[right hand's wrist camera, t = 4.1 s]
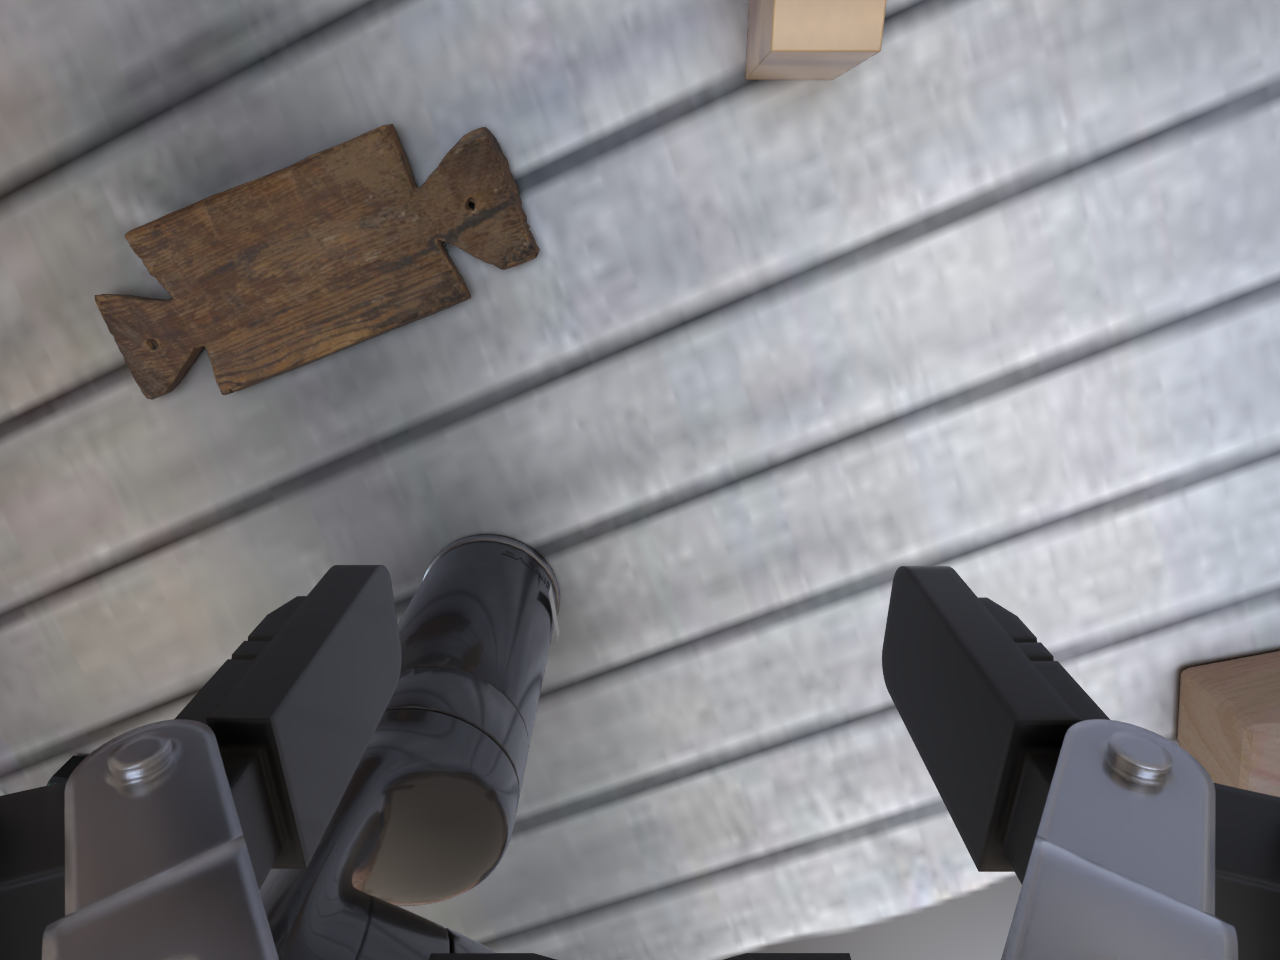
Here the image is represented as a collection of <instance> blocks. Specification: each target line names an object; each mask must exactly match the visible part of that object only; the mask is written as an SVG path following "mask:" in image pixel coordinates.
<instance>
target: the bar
mask: <svg viewBox="0 0 1280 960" xmlns="http://www.w3.org/2000/svg"><path fill="white" fill-rule="evenodd" d="M885 8H886V0H749V14H748V35H747V55H746V75H745V78H746V79H747V80H833V79H835V78H837V77H838V76H840V75H842V74H843V73H845V72H847V71H848V70H850V69H852V68H853V67H855V66H857V65H858V64H860V63H862V62H863V61H865V60H867V59H868V58H870V57H872V56H873V55H875V54H877V53H878V52H880V51H881V44H882V35H883V26H884V17H885Z"/></svg>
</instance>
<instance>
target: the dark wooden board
mask: <svg viewBox="0 0 1280 960" xmlns="http://www.w3.org/2000/svg"><path fill="white" fill-rule="evenodd" d="M518 194H519V190H518V187H517V184H516V183H515V181H514V179H513V177H512V174H511V172H510V169H509V165H508V161H507V159H506V157H505V156H504V154H503V152H502V150H501V148H500V146H499V144H498V142H497V140H496V138H495V137H494V135H493V134H492V133H491V132H490V131H489V130H488V129H487V128H486V127H483V128H479V129H476V130H473V131H471V132H470V133H468V134H466V135H465V136H463V137H462V138H461V139H460V140H459V142H458V143H457V144H456V145H455V146H454V147H453V148H452V149H451V150H450V151H449V152H448V153H447V154H446V156H445V157H444V158H443V160H442V161H441V163H440V164H439V166H438V167H437V168H436V169H435V171H434V172H433V173H432V174H431V175H430V176H429V177H428V179H427V180H426V182H425V183H424V184H423V186H422V187H419V188H417V186H416V183H415V180H414V178H413V175H412V171H411V168H410V165H409V162H408V160H407V157H406V155H405V152H404V150H403V148H402V145H401V143H400V140H399V137H398V134H397V132H396V130H395V127H394V125H393V124H390V125H383V126H381V127H378V128H376V129H374V130H371V131H369V132H367V133H365V134H363V135H360V136H358V137H356V138H353V139H351V140H349V141H347V142H344V143H342V144H339V145H337V146H334V147H332V148H329V149H326V150H324V151H321V152H319V153H316V154H314V155H311V156H309V157H307V158H305V159H303V160H301V161H299V162H297V163H295V164H293V165H291V166H289V167H286V168H284V169H281V170H278V171H276V172H273V173H271V174H268V175H266V176H264V177H261V178H259V179H256V180H253V181H250V182H248V183H245V184H242V185H240V186H237V187H234V188H232V189H229V190H227V191H224V192H222V193H218V194H215V195H213V196H210V197H208V198H206V199H204V200H201V201H199V202H196V203H194V204H192V205H190V206H187V207H185V208H183V209H180V210H177V211H175V212H172V213H170V214H167V215H165V216H163V217H161V218H159V219H157V220H154V221H152V222H150V223H147V224H145V225H143V226H140V227H138V228H135V229H133V230H131V231H129V232H127V233H126V234H125V238H126V240H127V241H128V242H129V243H130V246H131V248H132V249H133V251H134V252H135V253H136V254H137V256H138V257H139V258H141V259H142V260H143V263H144V265H145V266H146V267H147V270H148V271H149V273H150V275H152V276H154V277H156V278H157V280H158V281H159V283H160V284H161V285H162V286H163V287H164V288H165V289H166V290H167V291H168V293H169V294H170V295H171V296H172V298H171V299H170V300H161V299H151V298H145V297H138V296H131V295H115V294H102V295H95V301H96V303H97V306H98V308H99V310H100V312H101V315H102V317H103V319H104V320H105V322H106V324H107V326H108V329H109V331H110V333H111V334H112V335H113V336H114V339H115V341H116V343H117V345H118V347H119V350H120V351H121V353H122V354H123V356H124V359H125V362H126V364H127V366H128V368H129V369H130V371H131V373H132V375H133V377H134V379H135V381H136V383H137V384H138V386H139V387H140V389H141V391H142V393H143V394H144V395H145V397H146V398H147V399H155V398H157V397H160V396H162V395H164V394H167V393H169V392H171V391H172V390H173V389H174V388H175V387H176V386H177V385H178V383H179V382H180V381H181V380H182V378H183V377H184V376H185V374H186V372H187V370H188V369H189V368H190V366H191V365H192V364H193V363H194V362H195V360H196V358H197V356H198V355H199V354H200V353H201V351H202V350H203V348H204V346H205V347H206V348H207V350H208V356H209V358H210V361H211V363H212V367H213V371H214V375H215V379H216V382H217V384H218V386H219V388H220V391H221V393H222V395H227V394H230V393H233V392H234V391H239V390H242V389H244V388H247V387H249V386H252V385H254V384H257V383H260V382H262V381H264V380H267V379H270V378H272V377H275V376H277V375H280V374H282V373H285V372H288V371H290V370H293V369H295V368H298V367H301V366H303V365H306V364H308V363H311V362H313V361H316V360H318V359H321V358H323V357H325V356H328V355H330V354H333V353H335V352H338V351H340V350H343V349H345V348H348V347H350V346H353V345H355V344H358V343H360V342H363V341H365V340H367V339H370V338H373V337H375V336H378V335H380V334H383V333H385V332H388V331H390V330H393V329H395V328H398V327H401V326H403V325H406V324H408V323H411V322H413V321H416V320H418V319H421V318H424V317H426V316H429V315H432V314H434V313H437V312H439V311H441V310H444V309H446V308H449V307H451V306H453V305H455V304H458V303H460V302H462V301H465V300H467V299H469V298H471V295H470V293H469V291H468V289H467V286H466V284H465V282H464V281H463V279H462V276H461V275H460V274H459V273H458V270H457V268H456V267H455V265H454V263H453V261H452V260H451V259H450V257H449V255H448V253H447V251H446V249H445V247H444V245H443V244H442V243H443V241H444V242H447V243H450V244H452V245H454V246H457V247H459V248H461V249H462V250H464V251H466V252H467V253H469V254H471V255H472V256H474V257H476V258H478V259H480V260H482V261H485V262H487V263H490V264H494V265H495V266H497V267H498V268H500V269H503V270H505V269H508V268H511V267H514V266H517V265H520V264H522V263H525V262H527V261H529V260H531V259H534V258H536V257H537V255H538V252H539V248H538V246H537V245H536V243H535V239H534V237H533V235H532V233H531V231H530V230H529V227H530V226H529V225H528V224H527V223H526V215H525V213H524V211H523V209H522V208H521V204H522V202H521V200H520V197H519V195H518ZM469 202H473V203H475V208H474V209H472V208H471V207H470V206H469Z"/></svg>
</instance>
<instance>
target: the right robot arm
mask: <svg viewBox="0 0 1280 960" xmlns="http://www.w3.org/2000/svg"><path fill="white" fill-rule="evenodd" d="M559 604H560V593H559V587H558V583H557V580H556V577H555V575H554V573H553V571H552V570H551V568H550V566H549V565H548V564H547V562H546V561H545V560H544V559H543V558H542V557H541V556H540V555H539V554H538V553H537V552H535V551H534V550H533V549H531V548H530V547H528V546H527V545H525V544H523V543H521V542H519V541H516V540H514V539H511V538H507V537H503V536H497V535H476V536H470V537H466V538H463V539H460V540H458V541H456V542H454V543H452V544H450V545H448V546H447V547H446V548H444V549H443V550H442V551H441V552H440V553H439V554H438V555H437V556H436V557H435V558H434V559H433V561H432V562H431V564H430V566H429V568H428V569H427V571H426V573H425V576H424V578H423V581H422V583H421V585H420V587H419V588H418V590H417V592H416V593H415V595H414V597H413V598H412V600H411V602H410V604H409V605H408V607H407V609H406V611H405V612H404V614H403V616H402V618H401V619H400V621H399V623H398V624H397V618H396V611H395V604H394V598H393V591H392V584H391V579H390V575H389V572H388V570H387V568H386V567H385V566H383V565H335V566H333V567H331V568H330V569H329V571H328V572H327V573H326V574H325V575H324V577H323V578H322V579H321V580H320V581H319V583H318V584H317V585H316V586H315V587H314V589H313V590H312V591H311V592H310V593H309V595H308V596H297V597H296V598H294V599H292V600H291V601H289V602H288V603H286V604H284V605H283V606H281V607H279V608H278V609H276V610H275V611H273V612H271V613H270V614H268V615H267V616H266V617H265V618H264V619H263V620H262V622H261V623H260V624H259V625H258V626H257V627H256V628H255V629H254V631H253V632H252V633H251V634H250V635H249V636H248V641H244V642H243V643H242V644H241V645H240V646H239V647H238V649H237V650H236V651H235V652H234V653H233V654H232V659H228V660H227V661H226V662H225V663H224V664H223V665H222V666H221V668H220V669H219V670H218V671H217V672H216V673H215V674H214V675H213V677H212V678H211V679H210V680H209V681H208V682H207V683H206V684H205V686H204V687H203V688H202V689H201V690H200V691H199V692H198V693H197V695H196V696H195V697H194V698H193V699H192V700H191V701H190V702H189V704H188V705H187V706H186V707H185V708H184V709H183V710H182V711H181V712H180V714H179V715H178V716H177V717H176V718H175V719H174V720H166V721H160V722H156V723H151V724H148V725H145V726H142V727H138V728H136V729H133V730H131V731H128V732H126V733H124V734H122V735H120V736H118V737H116V738H114V739H112V740H110V741H108V742H107V743H105V744H103V745H102V746H100V747H99V748H98V749H96V750H95V751H93V752H92V753H91V754H90V755H88V756H87V757H86V758H85V759H84V760H83V761H82V762H81V763H80V764H79V765H78V766H77V767H76V768H75V769H74V771H73V772H72V774H71V775H70V776H69V779H68V781H67V782H62V783H58V784H53V785H49V786H44V787H40V788H35V789H31V790H26V791H21V792H17V793H12V794H8V795H3V796H0V960H556V959H552V958H549V957H545V956H541V955H538V954H534V953H496V952H494V951H493V950H491V949H489V948H487V947H486V946H484V945H482V944H480V943H478V942H476V941H474V940H472V939H469V938H467V937H465V936H463V935H461V934H459V933H457V932H455V931H453V930H450V929H448V928H444V927H443V926H441V925H439V924H436V923H434V922H432V921H430V920H427V919H425V918H423V917H420V916H418V915H416V914H414V913H411V912H409V911H407V910H405V909H402V908H400V907H398V906H416V905H425V904H431V903H435V902H440V901H444V900H447V899H450V898H453V897H456V896H458V895H460V894H462V893H464V892H466V891H468V890H470V889H472V888H473V887H475V886H476V885H478V884H479V883H481V882H482V881H483V880H484V879H485V878H486V877H488V876H489V875H490V874H491V872H492V871H493V870H494V869H495V868H496V866H497V865H498V864H499V862H500V860H501V859H502V857H503V855H504V853H505V851H506V849H507V847H508V844H509V842H510V838H511V835H512V831H513V827H514V822H515V817H516V812H517V807H518V801H519V797H520V792H521V787H522V782H523V777H524V772H525V767H526V762H527V757H528V751H529V746H530V741H531V736H532V731H533V726H534V721H535V716H536V711H537V706H538V701H539V696H540V691H541V686H542V681H543V676H544V671H545V666H546V661H547V656H548V651H549V646H550V642H551V637H552V632H553V627H554V624H555V630H556V635H557V640H558V639H559V634H560V631H559V625H558V620H557V615H558V610H559ZM882 667H883V675H884V680H885V684H886V687H887V689H888V692H889V694H890V696H891V698H892V700H893V702H894V704H895V706H896V708H897V710H898V712H899V714H900V716H901V718H902V720H903V722H904V724H905V726H906V728H907V730H908V732H909V734H910V736H911V738H912V740H913V742H914V744H915V746H916V748H917V750H918V752H919V754H920V756H921V758H922V760H923V762H924V764H925V766H926V768H927V770H928V772H929V774H930V776H931V778H932V779H933V781H934V783H935V785H936V787H937V789H938V791H939V793H940V795H941V797H942V799H943V801H944V803H945V805H946V807H947V809H948V811H949V813H950V815H951V817H952V819H953V821H954V823H955V825H956V827H957V829H958V831H959V833H960V835H961V837H962V839H963V841H964V843H965V845H966V847H967V849H968V851H969V853H970V855H971V857H972V859H973V861H974V863H975V865H976V867H977V869H978V871H979V872H1015V873H1016V875H1017V877H1018V878H1019V880H1020V882H1021V884H1022V888H1021V892H1020V895H1019V898H1018V902H1017V905H1016V909H1015V912H1014V916H1013V920H1012V923H1011V927H1010V930H1009V934H1008V937H1007V941H1006V944H1005V948H1004V951H1003V955H1002V958H1001V960H1280V797H1276V796H1272V795H1267V794H1263V793H1258V792H1253V791H1249V790H1244V789H1240V788H1235V787H1231V786H1226V785H1222V784H1218V783H1214V782H1213V781H1212V779H1211V776H1210V775H1209V774H1208V772H1207V771H1206V769H1205V768H1204V767H1203V766H1202V765H1201V764H1200V763H1199V762H1198V761H1197V760H1196V759H1195V758H1194V757H1193V756H1192V755H1190V754H1189V753H1188V752H1187V751H1185V750H1184V749H1182V748H1181V747H1180V746H1178V745H1177V744H1175V743H1173V742H1172V741H1170V740H1168V739H1166V738H1164V737H1162V736H1160V735H1158V734H1156V733H1154V732H1152V731H1149V730H1147V729H1144V728H1142V727H1138V726H1135V725H1132V724H1129V723H1124V722H1120V721H1114V720H1110V719H1109V718H1108V717H1107V716H1106V715H1105V713H1104V712H1103V711H1102V710H1101V709H1100V708H1099V707H1098V706H1097V705H1096V703H1095V702H1094V701H1093V700H1092V699H1091V698H1090V697H1089V696H1088V695H1087V693H1086V692H1085V691H1084V690H1083V689H1082V688H1081V687H1080V686H1079V685H1078V683H1077V682H1076V681H1075V680H1074V679H1073V678H1072V677H1071V676H1070V674H1069V673H1068V672H1067V671H1066V670H1065V669H1064V668H1063V667H1062V666H1061V664H1060V663H1059V662H1058V661H1054V660H1053V656H1052V654H1051V653H1050V652H1049V651H1048V650H1047V649H1046V648H1045V647H1044V646H1043V644H1042V643H1037V638H1036V637H1035V636H1034V634H1033V633H1032V632H1031V631H1030V630H1029V629H1028V628H1027V627H1026V626H1025V624H1024V623H1023V622H1022V621H1021V620H1020V619H1019V618H1018V617H1017V616H1016V615H1014V614H1013V613H1011V612H1009V611H1008V610H1006V609H1004V608H1003V607H1001V606H1000V605H998V604H996V603H995V602H993V601H991V600H990V599H988V598H977V596H976V595H975V594H974V593H973V592H972V590H971V589H970V588H969V587H968V586H967V584H966V583H965V582H964V581H963V580H962V579H961V577H960V576H959V575H958V574H957V573H956V571H955V570H954V569H953V568H951V567H948V566H901V567H899V568H898V569H897V571H896V573H895V575H894V579H893V584H892V591H891V597H890V604H889V611H888V617H887V624H886V630H885V637H884V643H883V651H882ZM724 960H851V958H850V954H849V953H746V954H742V955H739V956H735V957H731V958H728V959H724Z"/></svg>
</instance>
